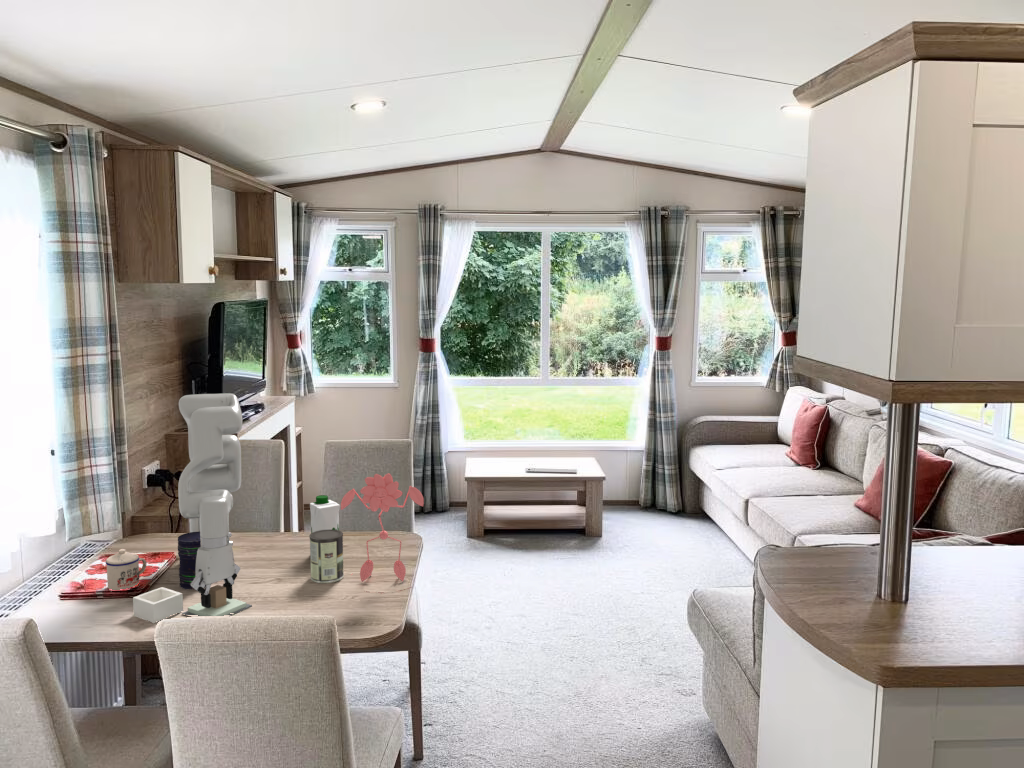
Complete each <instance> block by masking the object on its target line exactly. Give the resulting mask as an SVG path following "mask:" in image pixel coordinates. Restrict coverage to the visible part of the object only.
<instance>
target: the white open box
mask: <svg viewBox="0 0 1024 768" xmlns="http://www.w3.org/2000/svg"><path fill="white" fill-rule="evenodd" d="M183 598H184V594H183V593H182V592H179V591H175V590H173V589H170V588H166V587H163V586H162V587H158V588H155V589H153V590H149V591H148V592H144V593H141V594H139V595H137V596H134V597H132V605H133V607H132V608H133V609H132V610H133V616H134V617H136V618H138V619H141V618H142V619H141V620H144V621H147V620H148V621H147V622H149V621H150V622H149V623H152V624H156V623H158V621H159V622H161V621H163V620H162V619H164V620H166V619H168V618H170V617H169V616H170V615H173V614H176V613H179V614H181V613H182V612H181V611H183V612H184V599H183ZM180 612H181V613H180ZM176 615H177V614H176ZM166 617H168V618H166ZM165 618H166V619H165ZM160 620H161V621H160ZM156 621H157V622H156ZM155 622H156V623H155Z"/></svg>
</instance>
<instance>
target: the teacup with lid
mask: <svg viewBox="0 0 1024 768" xmlns="http://www.w3.org/2000/svg"><path fill="white" fill-rule="evenodd" d="M140 562H142V566H141V568H140V567H139V566H140V564H139V563H140ZM105 565H106V576H107V577H106V578H107V579H106V580H107V589H108V588H109V589H112V590H120V589H126V588H130V587H133V586H135V585H137V584H138V583H139V581H140V575H141V574H143V573H144V572H145V571H146V569H147V560H146V559H145V558H143V557H140V556H139V555H138V554H137V553H133V552H129V551H127V549H125V548H121V549H118V552H117V553H115V554H113V555H110V556H109V557H107V558H106V560H105Z"/></svg>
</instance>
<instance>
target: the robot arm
mask: <svg viewBox="0 0 1024 768" xmlns="http://www.w3.org/2000/svg"><path fill="white" fill-rule="evenodd" d="M178 409H179V412H180V414H181V415H182V418H183V419H184V421H185V423H186V425H187V433H188V440H187V441H188V455H189V456H188V457H189V460H190V461H189V463H187V464H186V466H184V467H185V468H183V471H182V472H181V473H180V476H179V480H178V486H177V487H178V489H177V491H178V493H177V494H178V509H179V513H180V515H181V516H182V517H183V518H184V519H189V533H190V532H200V541H201V547H200V548H198V551H197V557H196V571H195V576H196V577H195V578H194V580H193V581H192V583H191V586H192V587H193V588H194V589H193V590H195V591H197V592H198V593H199V594H200V602H201V605H202V606H203V607H206V608H210V607H211V595H210V594H208V593H209V590H210V588H211V587H212V585H213V584H215V583H218V582H220V581H223V584H222V586H223V587H226V598H228V599H232V598H233V585H234V584H235V580H236V579H237V578H238V574H239V572H240V570H241V566H240V565H238V564H236V563H235V555H234V550H233V545H234V544H233V543H234V542H233V541H232V540H230V537H232V536H233V535H232V532H230V524H229V523H230V521H229V520H230V519H229V514H230V512H231V510H232V509H233V506H234V497H233V494H232V493H234V492H236V491H239V489H240V488H241V485H242V447H241V442H240V439H239V438H238V437H237V435H235V434H238V433H240V432H241V430H242V428H243V412H242V408H241V406H240V402H239V398H238V397H237V396H236V395H235V394H234V393H230V392H229V393H199V394H186V395H183V396H182V397H180V399H179V400H178ZM199 582H201V585H199ZM205 585H206V587H205ZM204 587H205V588H204Z"/></svg>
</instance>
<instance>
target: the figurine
mask: <svg viewBox="0 0 1024 768" xmlns="http://www.w3.org/2000/svg"><path fill="white" fill-rule="evenodd" d="M364 482H365V484H366V485H365V486H363V487H362V488H361V489H360V490H359V491H360V494H362V495H363V496H362V497H361V496H360V495H359V494H358V492H357V491H356V490H355V488H352V489H350V490H348V492H346V493H345V494H344V495H343V497H342V499H341V502H340V510H341V511H342V510H344V509H345V508H347V507H348V506H349V505H350V504H351V503H352V502H353V501H354V498H355V496H356V497H357V498H358V499H359V501H360V502H362V504H363V505H364V506H365V508H366V509H367V510H370V511H371V512H377V511H378V509H380V510H381V511H380V512H379V514H378V520H379V523H380V527H381V530H382V531H380V532H379V535H378V536H377V537H374V538H371V539H368V540H366V553H367V554H366V555H367V560H365V562H363V564H362V565H361V567H360V571H359V577H360V582H361V583H362V582H364V581H366V580H367V579H368V578H369V577H371V575H373V574H372V573H373V570H374V561H373V560H371V559H370V556H369V543H368V542H371V541H374V540H377V539H379V538H380V539H381V540H387V539H391V540H394V541H397V542H399V552H398V559H396V560H395V561H394V563H393V572H394V574H395V576H396V577H397V578H398V579H399V580H400V581H401V582H404V580H405V576H406V571H407V570H406V566H405V564H404V563H403V562H402V560H401V549H402V540H400V539H397V538H395V537H390V536H389V532H388V531H386V530H385V529H384V526H383V522H382V518H381V516H382V514H383V512H385V513H388V512H389V510H390V508H401V509H402V508H403V509H404V507H405V506H406V503H407V500H408V497H409V498H410V499H411V500H412V502H414V503H415V504H416V505H418V506H421V507H424V504H425V503H424V501H425V500H424V496H423V494H422V491H420V490H419V489H418V488H417V487H415V486H413V485H409V487H408V491H407V494H406V497H405V499H404V502H403V505H399V502H398V500H397V499H399V498H400V497H402V496H403V491H402V490H400V489H399V486H400V485H399V484H400V483H399V482H398V481H396V480H395V481H394V478H393V476H392V474H391V473H386V474H384V476H382V475H381V474H378V473H375V474H374V475H373V476H367V477H364ZM367 504H368V505H369V506H368V505H367ZM353 574H354V573H352V574H350V576H352V575H353ZM411 588H412V586H410V587H407V588H403V589H400V590H399V591H400V592H403V591H405V590H409V589H411ZM365 591H366V593H369V591H367V590H365ZM379 593H381V594H385V593H384V592H380V591H379V592H378V593H377V594H379Z"/></svg>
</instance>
